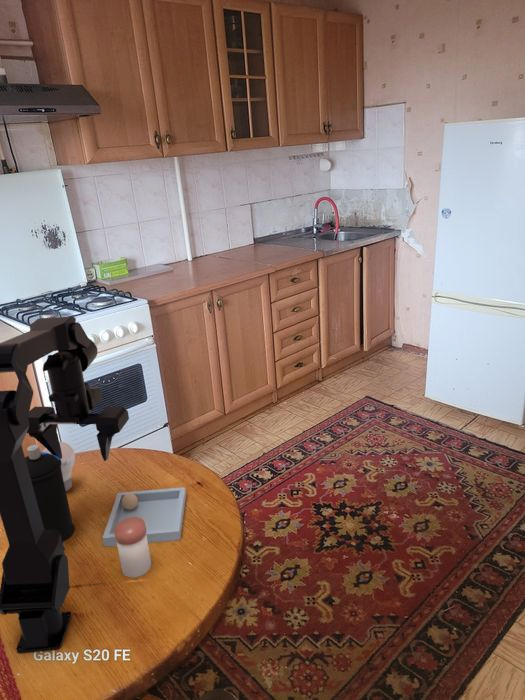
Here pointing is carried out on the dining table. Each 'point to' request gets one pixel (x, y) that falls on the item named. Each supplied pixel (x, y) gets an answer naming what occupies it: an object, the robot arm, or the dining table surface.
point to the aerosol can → (50, 491)
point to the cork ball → (129, 501)
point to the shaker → (132, 546)
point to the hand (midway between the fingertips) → (82, 459)
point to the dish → (151, 514)
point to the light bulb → (66, 463)
